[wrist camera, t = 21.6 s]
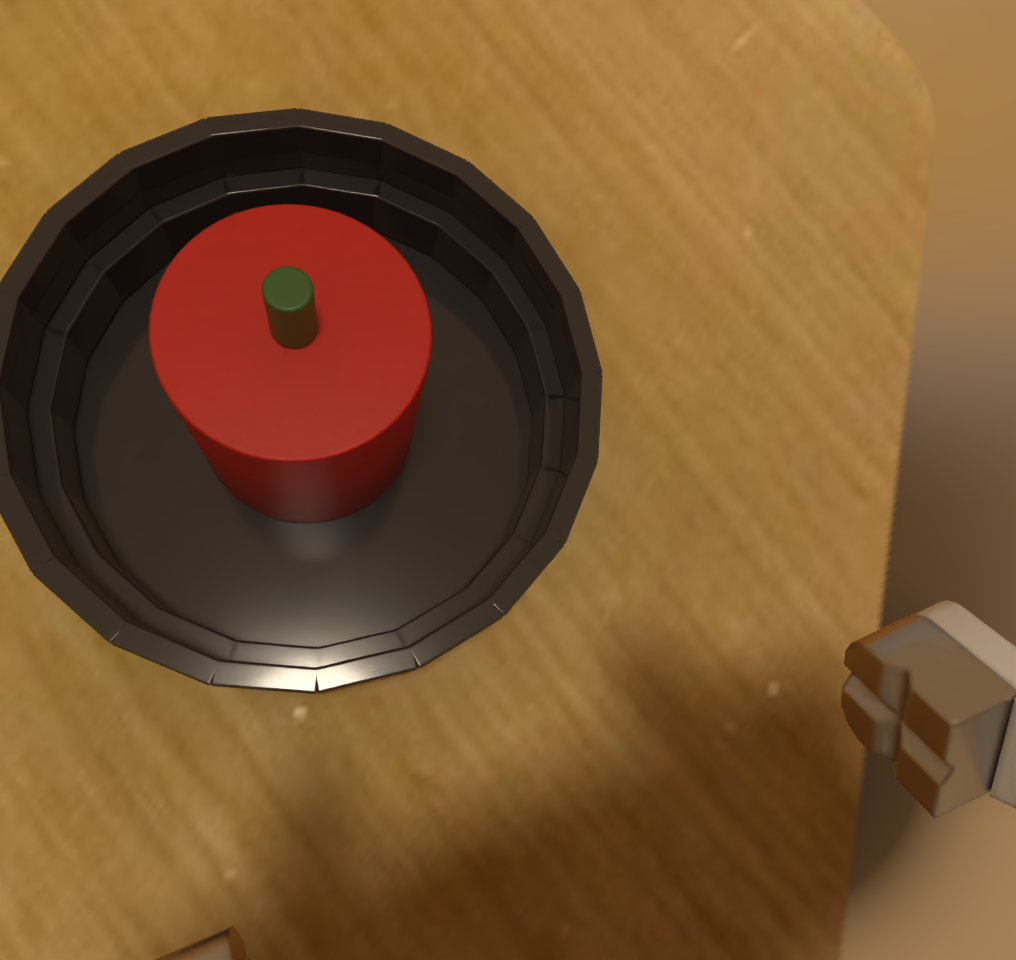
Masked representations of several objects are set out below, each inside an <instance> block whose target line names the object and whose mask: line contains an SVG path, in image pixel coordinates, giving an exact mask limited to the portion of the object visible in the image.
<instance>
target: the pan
mask: <svg viewBox="0 0 1016 960" xmlns="http://www.w3.org/2000/svg"><path fill="white" fill-rule="evenodd" d="M280 204H296V205H308V206H314V207H320V208H324V209H328V210H331V211H335V212H338V213H341V214H343V215H346V216H348V217H351V218H353V219H355V220H357V221H359V222H361V223H362V224H364V225H366V226H368V227H370V228H371V229H372V230H374V231H375V232H377V233H378V234H379V235H381V236H382V237H383V238H385V239H386V240H387V241H388V242H389V243H390V244H391V245H392V246H393V247H394V248H395V249H396V250H397V251H398V252H399V253H400V254H401V255H402V257H403V258H404V259H405V260H406V261H407V263H408V264H409V266H410V267H411V269H412V270H413V272H414V273H415V275H416V277H417V278H418V281H419V283H420V285H421V287H422V289H423V291H424V294H425V297H426V300H427V304H428V307H429V312H430V318H431V324H432V346H431V354H430V360H429V364H428V369H427V373H426V377H425V382H424V386H423V390H422V395H421V399H420V403H419V408H418V412H417V416H416V421H415V425H414V429H413V434H412V438H411V442H410V446H409V450H408V454H407V456H406V459H405V461H404V463H403V466H402V468H401V469H400V471H399V473H398V474H397V476H396V478H395V479H394V480H393V481H392V483H391V484H390V485H389V487H388V488H387V489H386V490H385V491H384V492H383V493H382V494H381V495H380V496H379V497H377V498H376V499H375V500H374V501H372V502H371V503H370V504H368V505H367V506H365V507H363V508H361V509H360V510H358V511H356V512H354V513H352V514H349V515H347V516H344V517H341V518H338V519H334V520H330V521H324V522H317V523H297V522H288V521H283V520H279V519H275V518H272V517H269V516H267V515H264V514H262V513H259V512H257V511H256V510H254V509H252V508H250V507H248V506H247V505H245V504H244V503H242V502H241V501H240V500H238V499H237V498H236V497H235V496H234V495H233V494H232V493H231V492H230V491H228V490H227V489H226V487H225V486H224V485H223V484H222V482H221V481H220V480H219V479H218V477H217V476H216V474H215V472H214V471H213V469H212V468H211V466H210V464H209V463H208V461H207V460H206V458H205V456H204V455H203V453H202V451H201V450H200V448H199V447H198V445H197V443H196V442H195V440H194V439H193V437H192V435H191V434H190V432H189V430H188V429H187V427H186V426H185V424H184V422H183V421H182V419H181V418H180V416H179V414H178V413H177V411H176V409H175V408H174V406H173V405H172V403H171V401H170V400H169V398H168V396H167V395H166V393H165V391H164V389H163V388H162V386H161V384H160V381H159V379H158V376H157V374H156V372H155V369H154V365H153V361H152V357H151V353H150V345H149V335H148V334H149V316H150V311H151V306H152V301H153V298H154V295H155V292H156V290H157V287H158V284H159V282H160V280H161V278H162V276H163V275H164V273H165V271H166V269H167V267H168V266H169V265H170V263H171V262H172V260H173V259H174V258H175V256H176V255H177V254H178V253H179V252H180V250H181V249H182V248H183V247H184V246H185V245H186V244H187V243H188V242H189V241H190V240H192V239H193V238H194V237H195V236H196V235H198V234H199V233H200V232H201V231H203V230H204V229H206V228H208V227H209V226H211V225H212V224H214V223H216V222H217V221H219V220H222V219H224V218H226V217H228V216H230V215H233V214H235V213H238V212H242V211H245V210H248V209H251V208H257V207H262V206H267V205H280ZM602 377H603V376H602V369H601V365H600V361H599V358H598V354H597V350H596V347H595V343H594V339H593V336H592V332H591V328H590V324H589V321H588V317H587V313H586V310H585V306H584V302H583V299H582V295H581V292H580V291H579V288H578V286H577V284H576V283H575V281H574V280H573V278H572V277H571V275H570V274H569V272H568V270H567V269H566V267H565V266H564V264H563V263H562V261H561V259H560V258H559V256H558V255H557V253H556V252H555V250H554V248H553V247H552V245H551V244H550V242H549V241H548V239H547V238H546V236H545V234H544V233H543V231H542V230H541V228H540V227H539V225H538V223H537V222H536V220H535V219H533V216H532V215H530V214H529V213H528V212H527V211H526V210H525V209H523V208H522V207H521V206H520V205H519V204H518V203H517V202H515V201H514V200H513V199H512V198H511V197H510V196H508V195H507V194H506V193H505V192H504V191H503V190H502V189H500V188H499V187H498V186H497V185H496V184H495V183H493V182H492V181H491V180H490V179H489V178H488V177H487V176H485V175H484V174H483V173H482V172H481V171H480V170H478V169H477V168H476V167H475V166H474V165H473V164H471V163H470V162H469V161H468V162H467V160H465V159H463V158H461V157H459V156H457V155H454V154H452V153H450V152H448V151H446V150H444V149H442V148H439V147H437V146H435V145H433V144H431V143H429V142H427V141H424V140H422V139H420V138H418V137H416V136H414V135H412V134H409V133H407V132H405V131H403V130H401V129H399V128H397V127H395V126H392V125H390V124H388V125H387V124H386V123H383V122H377V121H371V120H365V119H359V118H354V117H348V116H342V115H336V114H330V113H324V112H318V111H312V110H306V109H297V108H293V109H283V110H273V111H264V112H254V113H244V114H235V115H225V116H215V117H208V118H207V119H201V120H199V121H196V122H194V123H191V124H189V125H186V126H184V127H181V128H179V129H176V130H174V131H171V132H169V133H166V134H164V135H161V136H159V137H156V138H154V139H151V140H149V141H146V142H144V143H141V144H139V145H136V146H134V147H131V148H129V149H126V150H124V151H122V152H120V154H116V155H115V156H114V157H113V158H112V159H110V160H109V161H108V162H107V163H105V164H104V165H103V166H102V167H100V168H99V169H98V170H97V171H95V172H94V173H93V174H92V175H90V176H89V177H88V178H87V179H85V180H84V181H83V182H82V183H80V184H79V185H78V186H77V187H76V188H74V189H73V190H72V191H71V192H69V193H68V194H67V195H66V196H64V197H63V198H62V199H61V200H59V201H58V202H57V203H56V204H54V205H53V206H52V207H51V208H49V209H48V210H47V213H45V214H44V215H43V216H42V218H41V219H40V221H39V222H38V224H37V226H36V227H35V229H34V230H33V232H32V233H31V235H30V236H29V238H28V240H27V241H26V243H25V244H24V246H23V247H22V249H21V250H20V252H19V253H18V255H17V257H16V258H15V260H14V261H13V263H12V264H11V266H10V267H9V269H8V271H7V272H6V274H5V275H4V277H3V278H2V280H1V281H0V514H1V516H2V518H3V520H4V522H5V524H6V526H7V527H8V529H9V531H10V533H11V535H12V537H13V539H14V541H15V542H16V544H17V546H18V548H19V550H20V552H21V554H22V556H23V558H24V559H25V561H26V563H27V565H28V567H29V569H30V571H31V572H32V573H33V575H34V576H35V577H36V578H37V579H39V580H40V581H41V582H42V583H43V584H44V585H45V586H46V587H47V588H49V589H50V590H51V591H52V592H53V593H54V594H55V595H56V596H57V597H59V598H60V599H61V600H62V601H63V602H64V603H65V604H66V605H67V606H69V607H70V608H71V609H72V610H73V611H74V612H75V613H76V614H77V615H79V616H80V617H81V618H82V619H83V620H84V621H85V622H86V623H88V624H89V625H90V626H91V627H92V628H93V629H94V630H95V631H96V632H98V633H99V634H100V635H101V636H102V637H103V638H104V639H105V640H106V641H108V642H109V643H111V644H112V645H114V646H116V647H118V648H121V649H123V650H126V651H128V652H130V653H133V654H135V655H138V656H140V657H142V658H145V659H147V660H149V661H152V662H154V663H157V664H159V665H161V666H164V667H166V668H168V669H171V670H173V671H176V672H178V673H180V674H183V675H185V676H188V677H190V678H192V679H195V680H197V681H199V682H202V683H204V684H207V685H212V686H218V687H231V688H244V689H257V690H270V691H283V692H296V693H309V694H321V693H323V694H325V693H329V692H333V691H337V690H342V689H346V688H350V687H354V686H358V685H362V684H366V683H370V682H375V681H379V680H383V679H387V678H391V677H395V676H399V675H403V674H407V673H410V672H412V671H415V670H417V669H420V668H422V667H424V666H425V665H427V664H428V663H430V662H432V661H433V660H435V659H437V658H438V657H440V656H441V655H443V654H445V653H446V652H448V651H450V650H451V649H453V648H454V647H456V646H458V645H459V644H461V643H463V642H464V641H466V640H468V639H469V638H471V637H472V636H474V635H476V634H477V633H479V632H481V631H482V630H484V629H485V628H487V627H489V626H490V625H492V624H494V623H495V622H497V621H498V620H500V619H501V618H502V617H503V616H505V615H506V614H507V613H508V612H509V610H510V609H511V608H512V607H513V606H514V605H515V603H516V602H517V601H518V600H519V599H520V597H521V596H522V595H523V594H524V593H525V591H526V590H527V589H528V588H529V587H530V586H531V584H532V583H533V582H534V581H535V580H536V578H537V577H538V576H539V575H540V574H541V572H542V571H543V570H544V569H545V568H546V567H547V565H548V564H549V563H550V562H551V561H552V559H553V558H554V557H555V556H556V555H557V553H558V552H559V551H560V550H561V549H562V548H563V546H564V544H565V543H566V541H567V538H568V536H569V533H570V531H571V528H572V526H573V523H574V521H575V518H576V516H577V513H578V511H579V508H580V506H581V503H582V501H583V498H584V495H585V493H586V490H587V488H588V485H589V483H590V480H591V478H592V475H593V473H594V470H595V468H596V465H597V460H598V454H599V435H600V416H601V397H602Z"/></svg>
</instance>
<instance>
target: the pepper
mask: <svg viewBox="0 0 1016 960" xmlns="http://www.w3.org/2000/svg"><path fill="white" fill-rule="evenodd" d="M148 335H149V345H150V353H151V357H152V361H153V365H154V369H155V372H156V374H157V376H158V379H159V381H160V384H161V386H162V388H163V389H164V391H165V393H166V395H167V396H168V398H169V400H170V401H171V403H172V405H173V406H174V408H175V409H176V411H177V413H178V414H179V416H180V418H181V419H182V421H183V422H184V424H185V426H186V427H187V429H188V430H189V432H190V434H191V435H192V437H193V439H194V440H195V442H196V443H197V445H198V447H199V448H200V450H201V451H202V453H203V455H204V456H205V458H206V460H207V461H208V463H209V464H210V466H211V468H212V469H213V471H214V472H215V474H216V476H217V477H218V479H219V480H220V481H221V482H222V484H223V485H224V486H225V487H226V489H227V490H228V491H230V492H231V493H232V494H233V495H234V496H235V497H236V498H237V499H238V500H240V501H241V502H242V503H244V504H245V505H247V506H248V507H250V508H252V509H254V510H256V511H257V512H259V513H262V514H264V515H267V516H269V517H272V518H275V519H279V520H283V521H288V522H297V523H317V522H324V521H330V520H334V519H338V518H341V517H344V516H347V515H349V514H352V513H354V512H356V511H358V510H360V509H361V508H363V507H365V506H367V505H368V504H370V503H371V502H372V501H374V500H375V499H376V498H377V497H379V496H380V495H381V494H382V493H383V492H384V491H385V490H386V489H387V488H388V487H389V485H390V484H391V483H392V481H393V480H394V479H395V478H396V476H397V474H398V473H399V471H400V469H401V468H402V466H403V463H404V461H405V459H406V456H407V454H408V450H409V446H410V442H411V438H412V434H413V429H414V425H415V421H416V416H417V412H418V408H419V403H420V399H421V395H422V390H423V386H424V382H425V377H426V373H427V369H428V364H429V360H430V354H431V346H432V324H431V318H430V312H429V307H428V304H427V300H426V297H425V294H424V291H423V289H422V287H421V285H420V283H419V281H418V278H417V277H416V275H415V273H414V272H413V270H412V269H411V267H410V266H409V264H408V263H407V261H406V260H405V259H404V258H403V257H402V255H401V254H400V253H399V252H398V251H397V250H396V249H395V248H394V247H393V246H392V245H391V244H390V243H389V242H388V241H387V240H386V239H385V238H383V237H382V236H381V235H379V234H378V233H377V232H375V231H374V230H372V229H371V228H370V227H368V226H366V225H364V224H362V223H361V222H359V221H357V220H355V219H353V218H351V217H348V216H346V215H343V214H341V213H338V212H335V211H331V210H328V209H324V208H320V207H314V206H308V205H296V204H280V205H267V206H262V207H257V208H251V209H248V210H245V211H242V212H238V213H235V214H233V215H230V216H228V217H226V218H224V219H222V220H219V221H217V222H216V223H214V224H212V225H211V226H209V227H208V228H206V229H204V230H203V231H201V232H200V233H199V234H198V235H196V236H195V237H194V238H193V239H192V240H190V241H189V242H188V243H187V244H186V245H185V246H184V247H183V248H182V249H181V250H180V252H179V253H178V254H177V255H176V256H175V258H174V259H173V260H172V262H171V263H170V265H169V266H168V267H167V269H166V271H165V273H164V275H163V276H162V278H161V280H160V282H159V284H158V287H157V290H156V292H155V295H154V298H153V301H152V306H151V311H150V316H149V334H148Z"/></svg>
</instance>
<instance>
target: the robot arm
mask: <svg viewBox="0 0 1016 960" xmlns="http://www.w3.org/2000/svg"><path fill="white" fill-rule="evenodd" d="M844 665H845V666H846V667H847V668H848V669H849V670H850V671H851V672H852V673H851V674H850V676H849V677H848V679H847V680H846V682H845V683H844V685H843V687H842V696H841V706H842V709H843V712H844V714H845V717H846V720H847V722H848V725H849V726H850V728H851V729H852V731H853V732H854V734H855V735H856V737H857V738H858V740H859V741H860V742H861V743H862V744H863V745H864V746H865V747H866V748H867V749H868V750H869V751H870V752H871V753H872V754H874V755H877V756H880V757H882V758H885V759H888V760H891V761H893V762H894V767H895V773H896V779H897V781H898V782H899V783H900V784H901V785H902V786H903V787H904V788H905V789H906V790H907V791H908V792H909V793H910V794H911V795H912V796H913V797H914V798H915V799H916V800H917V801H918V802H919V803H920V804H921V805H922V806H923V807H924V808H925V809H926V810H927V811H928V812H929V813H930V814H931V816H933V818H934V819H935V818H937V817H939V816H941V815H943V814H945V813H948V812H950V811H952V810H954V809H956V808H958V807H960V806H962V805H964V804H966V803H968V802H970V801H972V800H974V799H976V798H978V797H981V796H983V795H985V794H986V793H989V792H990V797H993V798H995V799H997V800H999V801H1001V802H1003V803H1005V804H1008V805H1010V806H1012V807H1014V808H1016V647H1015V646H1014V645H1012V644H1011V643H1010V642H1008V641H1007V640H1006V639H1004V638H1003V637H1002V636H1000V635H999V634H998V633H996V632H995V631H994V630H992V629H991V628H990V627H989V626H987V625H986V624H985V623H983V622H982V621H981V620H979V619H978V618H977V617H975V616H974V615H973V614H971V613H970V612H969V611H967V610H966V609H965V608H964V607H962V606H960V605H959V604H958V603H955V602H951V601H948V600H946V601H943V602H939V603H937V604H935V605H933V606H931V607H929V608H927V609H924V610H922V611H920V612H918V613H916V614H914V615H912V616H911V615H909V616H907V617H905V618H903V619H901V620H899V621H897V622H894V623H892V624H890V625H888V626H886V627H884V628H882V629H880V630H878V631H876V632H873V633H871V634H869V635H867V636H865V637H863V638H861V639H859V640H857V641H855V642H853V643H851V644H850V646H849V647H848V648H847V649H846V650H845V659H844ZM156 960H248V959H246V953H245V947H244V942H243V939H242V938H241V936H240V935H239V933H238V932H237V931H236V929H235V928H234V926H231V927H228V928H226V929H224V930H222V931H219V932H217V933H215V934H212V935H210V936H208V937H206V938H203V939H201V940H199V941H197V942H194V943H192V944H190V945H188V946H185V947H183V948H181V949H178V950H176V951H174V952H172V953H169V954H167V955H165V956H163V957H160V958H158V959H156Z"/></svg>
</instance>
